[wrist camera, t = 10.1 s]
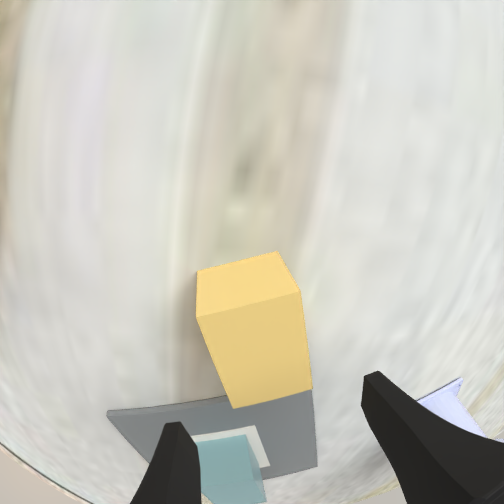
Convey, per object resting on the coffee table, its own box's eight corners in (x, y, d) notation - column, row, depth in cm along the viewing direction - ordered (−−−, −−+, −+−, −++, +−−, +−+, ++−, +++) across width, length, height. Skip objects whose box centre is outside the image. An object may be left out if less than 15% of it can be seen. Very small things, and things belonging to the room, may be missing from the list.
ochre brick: (292, 339, 19) (312, 388, 15) (226, 355, 19) (233, 408, 15) (276, 250, 16) (300, 291, 12) (197, 269, 16) (195, 317, 12)
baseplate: (316, 462, 27) (317, 467, 26) (178, 486, 26) (178, 491, 25) (308, 375, 20) (311, 382, 20) (107, 410, 19) (106, 417, 19)
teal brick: (258, 463, 24) (266, 501, 20) (215, 471, 24) (219, 508, 20) (245, 434, 21) (253, 479, 17) (193, 442, 21) (195, 487, 17)
